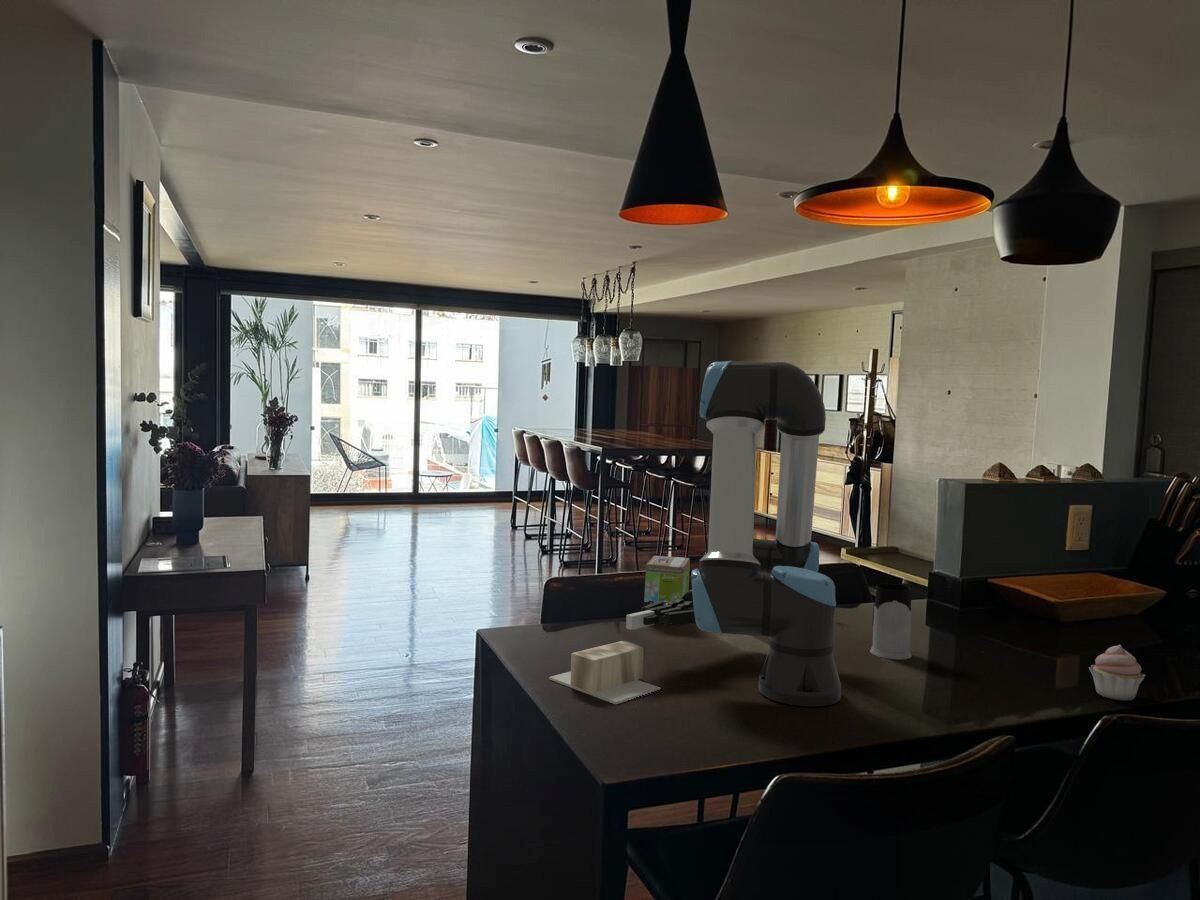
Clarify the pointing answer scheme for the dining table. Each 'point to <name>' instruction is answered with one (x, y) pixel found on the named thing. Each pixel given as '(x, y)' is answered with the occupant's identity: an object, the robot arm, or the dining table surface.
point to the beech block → (607, 666)
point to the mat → (611, 689)
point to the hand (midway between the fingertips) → (629, 622)
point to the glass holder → (892, 622)
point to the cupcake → (1116, 674)
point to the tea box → (666, 579)
